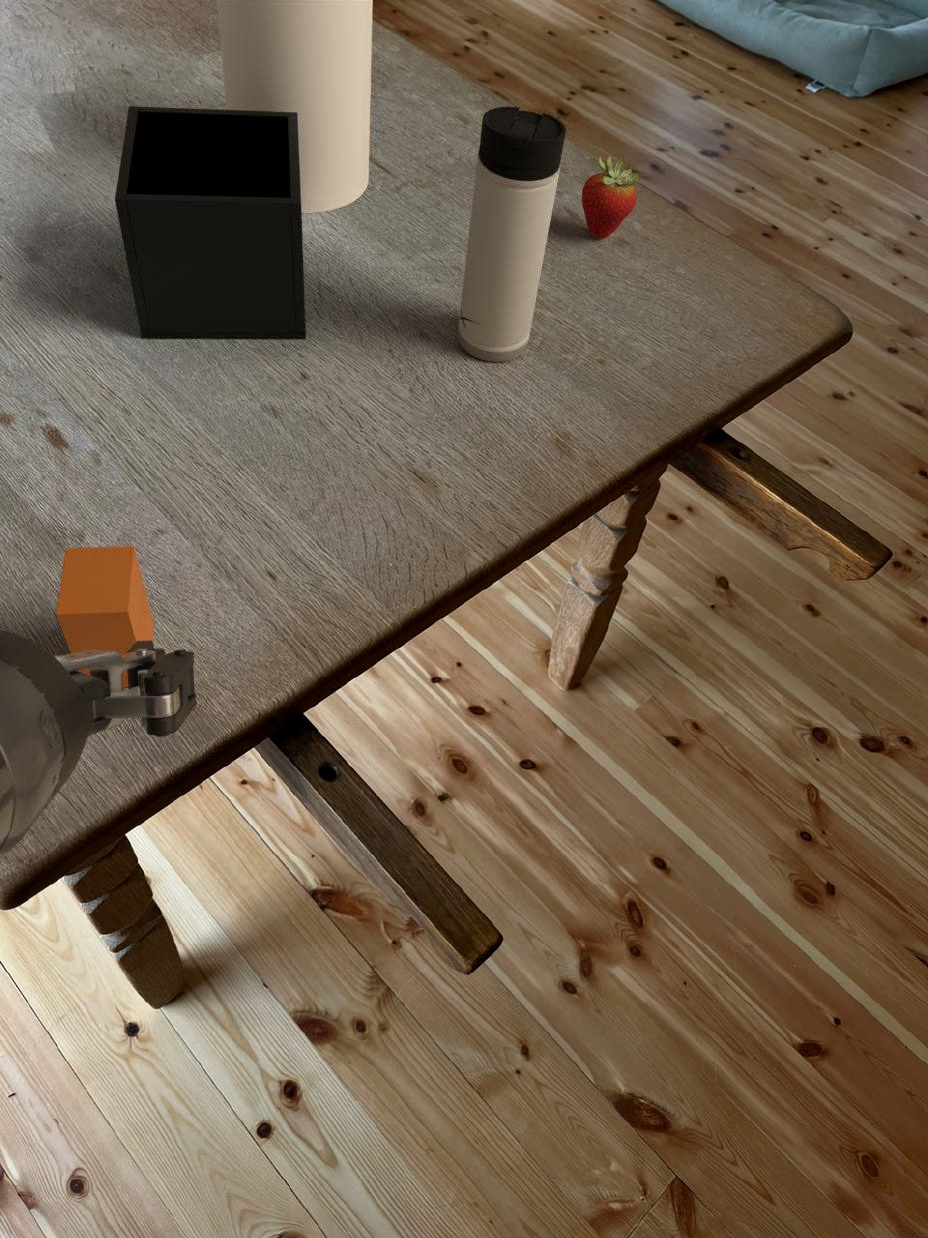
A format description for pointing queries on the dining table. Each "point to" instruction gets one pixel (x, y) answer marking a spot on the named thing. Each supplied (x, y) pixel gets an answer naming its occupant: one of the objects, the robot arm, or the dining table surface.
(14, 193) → the dining table surface
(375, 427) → the dining table surface
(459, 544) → the dining table surface
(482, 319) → the travel mug
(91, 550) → the block
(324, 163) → the canister
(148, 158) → the bin
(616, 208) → the fruit
